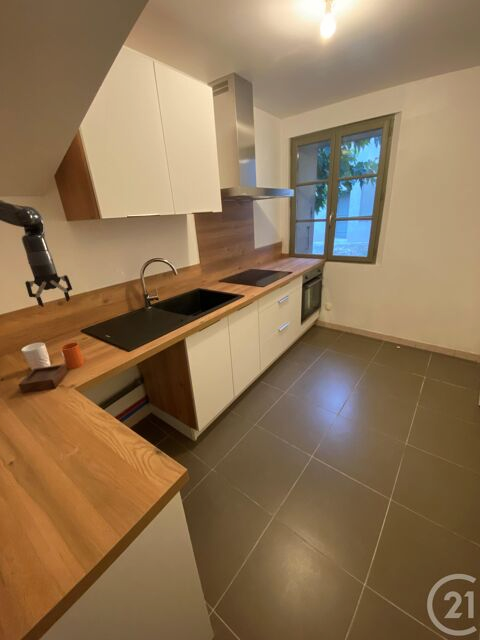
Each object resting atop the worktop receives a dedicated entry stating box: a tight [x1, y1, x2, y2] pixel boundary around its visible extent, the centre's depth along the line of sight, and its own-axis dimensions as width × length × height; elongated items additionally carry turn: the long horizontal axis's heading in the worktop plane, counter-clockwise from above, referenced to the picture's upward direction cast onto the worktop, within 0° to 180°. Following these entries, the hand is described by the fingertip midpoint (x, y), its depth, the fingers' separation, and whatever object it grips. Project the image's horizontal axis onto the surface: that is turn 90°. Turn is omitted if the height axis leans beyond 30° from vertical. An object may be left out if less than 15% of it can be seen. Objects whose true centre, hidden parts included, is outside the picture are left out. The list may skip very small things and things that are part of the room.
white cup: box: [21, 341, 52, 371], centre depth 109 cm, size 8×8×10 cm
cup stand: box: [18, 363, 68, 395], centre depth 99 cm, size 11×11×4 cm
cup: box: [59, 342, 85, 370], centre depth 110 cm, size 7×7×9 cm
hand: (55, 303), depth 105 cm, fingers open, 8 cm apart
